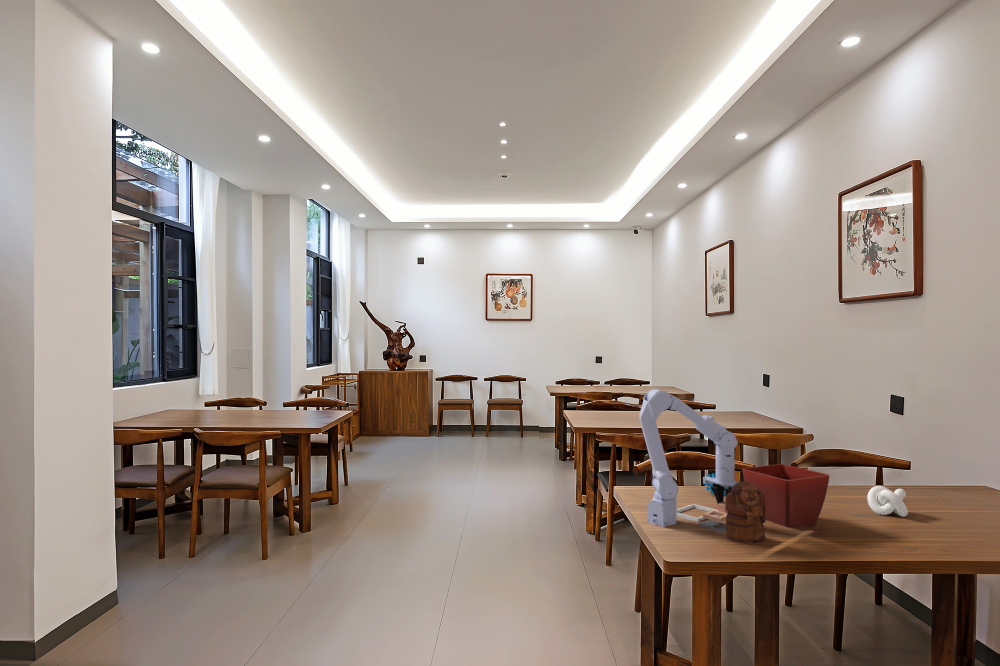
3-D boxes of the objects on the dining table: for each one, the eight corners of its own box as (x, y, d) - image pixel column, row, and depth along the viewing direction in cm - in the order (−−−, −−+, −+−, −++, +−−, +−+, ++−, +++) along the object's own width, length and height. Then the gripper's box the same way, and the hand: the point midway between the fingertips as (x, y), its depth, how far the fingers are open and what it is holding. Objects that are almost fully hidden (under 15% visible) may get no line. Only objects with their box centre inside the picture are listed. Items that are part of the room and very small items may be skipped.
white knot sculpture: (920, 519, 187) (920, 493, 187) (885, 519, 187) (885, 493, 187) (896, 510, 198) (896, 484, 199) (863, 510, 198) (862, 484, 198)
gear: (707, 492, 214) (702, 470, 221) (701, 500, 218) (696, 478, 226) (735, 496, 215) (729, 474, 222) (728, 504, 219) (722, 482, 226)
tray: (697, 524, 181) (697, 518, 181) (670, 517, 189) (670, 511, 189) (720, 516, 190) (720, 510, 190) (693, 509, 198) (693, 503, 198)
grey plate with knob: (722, 535, 171) (722, 522, 171) (695, 528, 178) (695, 515, 178) (736, 529, 176) (736, 517, 176) (710, 522, 183) (710, 510, 183)
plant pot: (740, 517, 190) (740, 467, 190) (781, 511, 197) (781, 463, 197) (788, 534, 172) (788, 480, 172) (832, 527, 179) (831, 475, 179)
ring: (720, 522, 173) (720, 511, 173) (703, 517, 178) (702, 506, 178) (736, 514, 180) (736, 504, 180) (719, 510, 184) (718, 500, 184)
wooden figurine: (739, 549, 160) (739, 486, 160) (723, 541, 166) (723, 481, 166) (771, 544, 164) (770, 482, 164) (754, 537, 170) (753, 478, 170)
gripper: (752, 469, 178) (752, 511, 178) (710, 461, 189) (710, 501, 189) (742, 472, 174) (742, 516, 173) (699, 464, 185) (699, 505, 185)
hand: (725, 509), depth 181 cm, fingers closed on ring, 2 cm apart
